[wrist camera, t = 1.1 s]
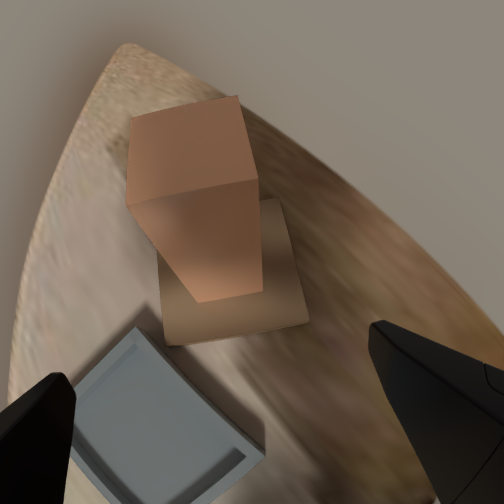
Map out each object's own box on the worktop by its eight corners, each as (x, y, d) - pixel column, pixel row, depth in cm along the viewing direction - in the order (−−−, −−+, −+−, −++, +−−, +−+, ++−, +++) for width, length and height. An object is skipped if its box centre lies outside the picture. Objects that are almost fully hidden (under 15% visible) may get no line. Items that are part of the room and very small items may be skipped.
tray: (265, 450, 18) (265, 456, 17) (160, 533, 15) (152, 543, 14) (145, 331, 22) (135, 326, 20) (58, 418, 19) (44, 419, 17)
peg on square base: (308, 322, 22) (318, 307, 18) (168, 347, 22) (146, 337, 17) (278, 202, 26) (280, 168, 22) (158, 225, 26) (140, 195, 21)
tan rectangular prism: (263, 291, 22) (258, 178, 10) (197, 302, 22) (125, 205, 10) (247, 212, 25) (231, 73, 13) (188, 223, 25) (134, 94, 13)
